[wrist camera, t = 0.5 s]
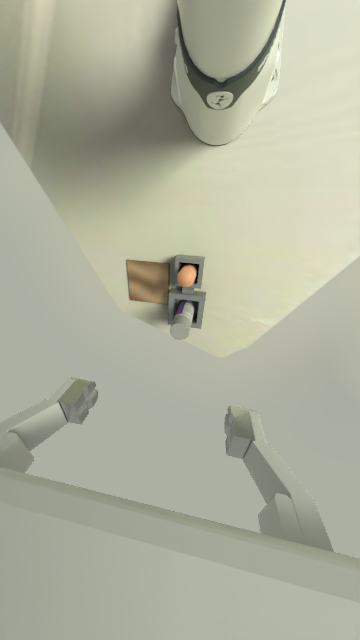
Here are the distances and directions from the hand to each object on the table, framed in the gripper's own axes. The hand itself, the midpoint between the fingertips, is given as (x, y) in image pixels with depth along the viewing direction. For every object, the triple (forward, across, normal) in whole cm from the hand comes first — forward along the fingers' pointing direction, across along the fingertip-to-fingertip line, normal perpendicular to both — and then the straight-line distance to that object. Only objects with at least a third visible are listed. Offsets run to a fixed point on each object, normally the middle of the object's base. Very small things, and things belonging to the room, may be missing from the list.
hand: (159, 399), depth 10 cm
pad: (+41, +14, +6) cm, 44 cm away
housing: (+41, +2, +7) cm, 42 cm away
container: (+41, +2, +12) cm, 43 cm away
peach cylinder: (+39, +2, +1) cm, 39 cm away
